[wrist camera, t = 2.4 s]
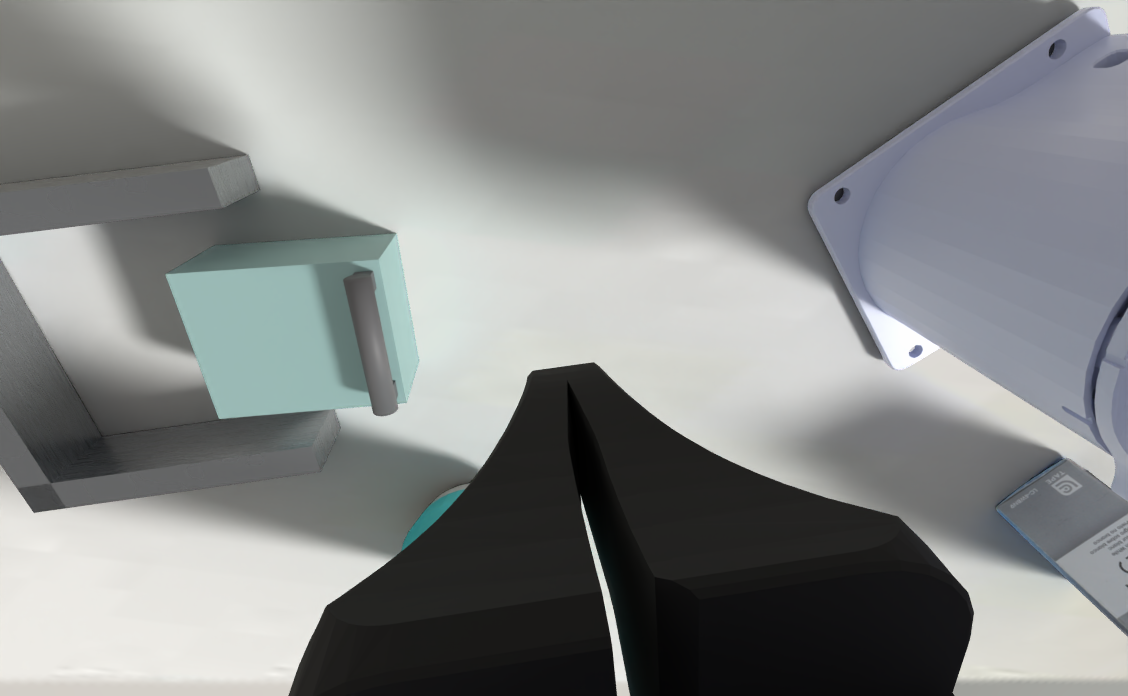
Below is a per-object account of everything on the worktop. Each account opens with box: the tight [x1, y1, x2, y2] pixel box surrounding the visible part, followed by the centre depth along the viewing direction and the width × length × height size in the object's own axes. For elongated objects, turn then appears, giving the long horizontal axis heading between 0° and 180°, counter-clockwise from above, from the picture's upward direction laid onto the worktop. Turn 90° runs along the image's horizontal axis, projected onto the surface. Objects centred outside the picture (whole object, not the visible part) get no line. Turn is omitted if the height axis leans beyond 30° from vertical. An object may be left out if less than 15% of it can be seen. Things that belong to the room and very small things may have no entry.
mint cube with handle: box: [165, 233, 419, 419], centre depth 17 cm, size 6×4×4 cm
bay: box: [0, 155, 341, 513], centre depth 17 cm, size 9×10×2 cm
